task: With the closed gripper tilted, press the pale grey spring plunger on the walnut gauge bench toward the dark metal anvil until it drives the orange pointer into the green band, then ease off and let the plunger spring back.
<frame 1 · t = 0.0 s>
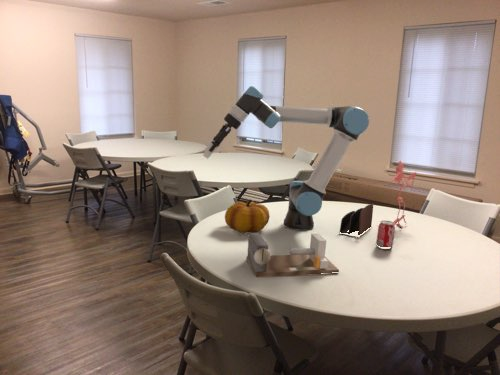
hand: (205, 154, 192), 36 cm above the table, tool tilted 35°, fingers open, 13 cm apart
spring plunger: (307, 251, 163), point 7 cm above the table, slide at 0.0 cm
soda can: (383, 248, 192), on the table
gauge bench: (291, 266, 165), on the table
figurine: (391, 225, 228), on the table
letter holder: (355, 231, 214), on the table
peak pointer: (316, 262, 160), point 4 cm above the table, slide at 0.0 cm
decorative pumpkin: (246, 230, 206), on the table
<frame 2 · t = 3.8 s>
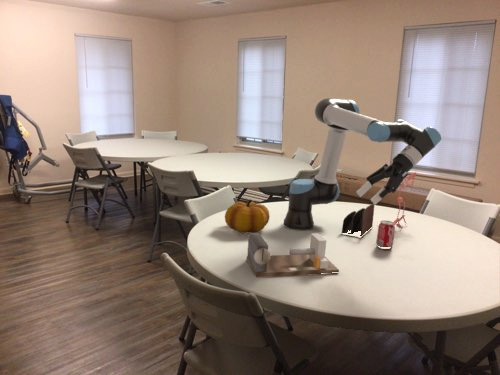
hand: (365, 198, 165), 27 cm above the table, tool tilted 45°, fingers open, 11 cm apart
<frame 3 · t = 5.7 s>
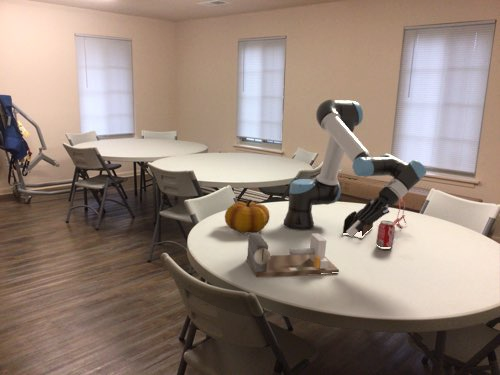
hand: (348, 234, 167), 13 cm above the table, tool tilted 45°, fingers closed
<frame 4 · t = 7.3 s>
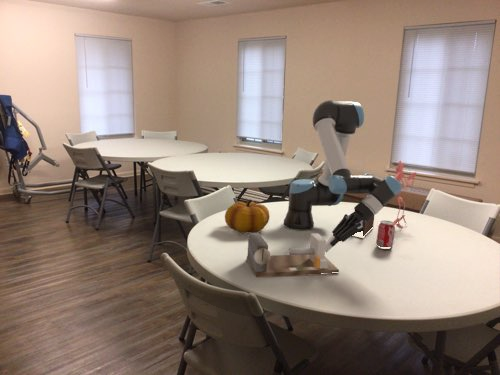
hand: (323, 249, 166), 7 cm above the table, tool tilted 45°, fingers closed
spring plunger: (307, 251, 163), point 7 cm above the table, slide at 0.2 cm, touching gripper
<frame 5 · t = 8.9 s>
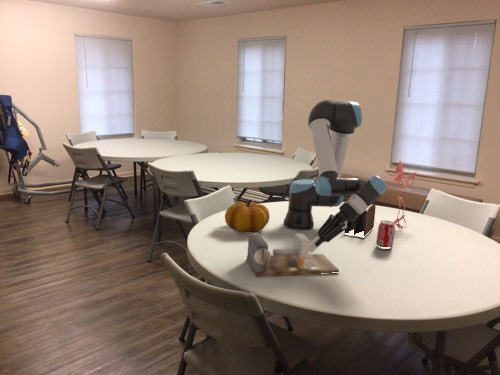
hand: (308, 250, 165), 7 cm above the table, tool tilted 45°, fingers closed
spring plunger: (291, 251, 162), point 7 cm above the table, slide at 6.5 cm, touching gripper, peak pointer
peak pointer: (301, 262, 159), point 4 cm above the table, slide at 6.3 cm, touching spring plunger
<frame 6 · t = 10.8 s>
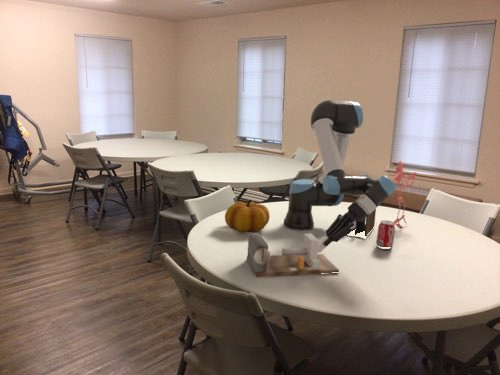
hand: (316, 249, 166), 7 cm above the table, tool tilted 45°, fingers closed
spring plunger: (300, 251, 162), point 7 cm above the table, slide at 3.0 cm, touching gripper
peak pointer: (301, 262, 159), point 4 cm above the table, slide at 6.3 cm
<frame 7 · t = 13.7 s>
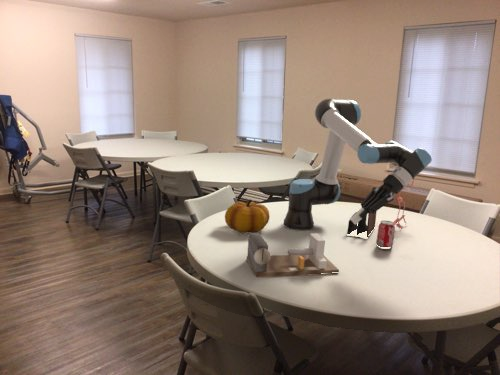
hand: (352, 221, 167), 18 cm above the table, tool tilted 45°, fingers closed
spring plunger: (306, 251, 163), point 7 cm above the table, slide at 0.5 cm
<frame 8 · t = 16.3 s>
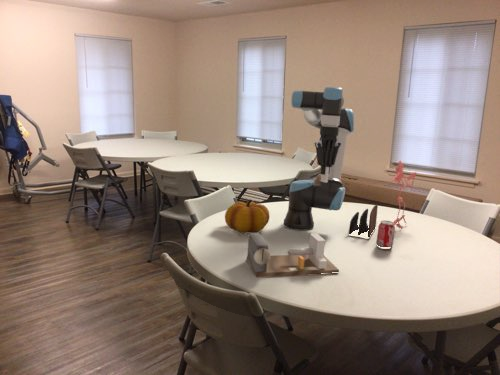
hand: (324, 181, 181), 29 cm above the table, tool pointing down, fingers closed
at the end: peak pointer slide at 6.3 cm; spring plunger slide at 0.5 cm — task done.
